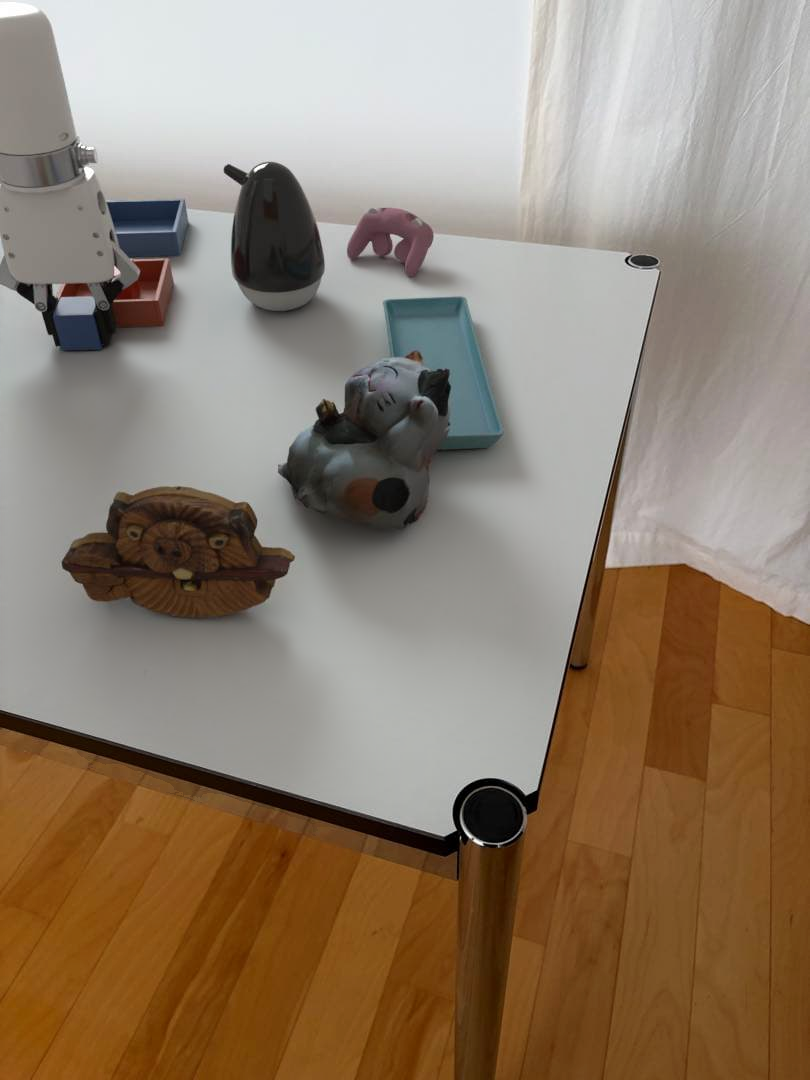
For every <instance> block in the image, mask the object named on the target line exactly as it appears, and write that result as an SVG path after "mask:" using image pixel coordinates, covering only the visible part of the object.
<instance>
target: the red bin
mask: <svg viewBox="0 0 810 1080" xmlns="http://www.w3.org/2000/svg"><path fill="white" fill-rule="evenodd" d="M132 259H133V261H134V264H135V265H136V266H137V267H138V268H139V269H140V274H139V278H138V285H139V290H140V293H139V297H138V299H129V300H114V301H113V302H112V307H113V312H114V316H115V320H116V326H117V328H135V327H136V328H137V327H139V328H140V327H164V324H165V320H166V316H167V313H168V307H169V303H170V299H171V296H172V290H173V286H174V277H173V272H172V265H171V260H170V258H138V259H134V258H132ZM87 296H92V294H91V292H90V289H89V287H88V285H87V283H72V284H60V286H59V289H58V291H57V293H56V295H55V298H58V300H60V297H87Z"/></svg>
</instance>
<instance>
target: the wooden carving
mask: <svg viewBox="0 0 810 1080" xmlns="http://www.w3.org/2000/svg"><path fill="white" fill-rule="evenodd" d="M105 524H106V525H105V529H106V531H105V532H104V531H101V532H99V531H98V532H92V533H88V534H86V535H85V536H83V537H81V538H77V539H74V540H73V541H72V542H71V544H70V546H69V549H68V551H67V553H66V554H65V555H64V557H63V558H62V560H61V567H62V570H63V571H65V572H68V573H69V574H70V576H71V578H72V579H73V581H74V582H75V583H77V584H81V585H82V586H83V589H84V591H85V593H86V595H87V596H88V598H89V599H91V600H92V601H96V602H105V603H109V602H113V601H119V600H122V599H123V600H124V599H126V598H129V599H130V601H131V602H132V603H133V604H134V605H136V606H139V607H141V608H143V609H146V610H148V611H152V612H153V613H158V614H163V615H166V616H172V617H178V618H192V619H193V618H199V619H201V618H209V617H223V616H228V615H233V614H237V613H240V612H243V611H246V610H249V609H250V608H253V607H256V606H259V605H261V604H263V603H265V602H266V601H268V599H269V598H270V597H271V593H272V589H274V587H275V584H276V581H277V580H278V579H281V578H284V577H285V576H287V574H288V573H289V570H290V565H291V563H293V562H294V561H295V558H296V556H295V555H294V554H293V553H292V552H291V551H290V550H287V549H286V548H284V547H269V546H268V547H267V546H262V544H261V543H260V541H259V539H258V538H257V536H256V535H255V533H256V530H257V526H258V518H257V515H256V513H255V511H254V509H253V507H252V506H251V505H250V504H249V502H246V501H240V502H234V501H233V500H230V499H228V498H226V497H223V496H222V495H218V494H217V493H216V494H215V493H212V492H209V491H205V490H204V491H203V490H200V489H198V488H194V487H189V486H181V485H176V486H169V485H167V486H166V485H163V486H157V487H152V488H148V489H145V490H142V491H139V492H136V493H134V494H129V493H128V492H125V491H118V492H117V493H116V494H115V495H114V498H113V501H112V503H111V504H110V506H109V508H108V516H107V521H106V523H105Z"/></svg>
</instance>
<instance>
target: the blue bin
mask: <svg viewBox="0 0 810 1080" xmlns="http://www.w3.org/2000/svg"><path fill="white" fill-rule="evenodd" d="M106 203H107V206H108V209H109V212H110V215H111V218H112V222H113V225H114V228H115V232H116V235H117V239H118V243H119V248H120V249H121V250H122V251H123V252H124V253H125V254H126V255H127V256H128V257H129V258H142V257H144V258H145V257H178V256H179V257H180V256H181V254H182V250H183V245H184V241H185V236H186V232H187V229H188V224H189V217H188V211H187V210H188V209H187V204H186V200H185V198H164V199H162V198H161V199H159V198H157V199H123V200H122V199H121V200H119V199H118V200H106Z"/></svg>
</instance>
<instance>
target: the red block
mask: <svg viewBox="0 0 810 1080" xmlns="http://www.w3.org/2000/svg"><path fill="white" fill-rule="evenodd" d="M130 259H131V260H132V262H133V263H134V261H133V259H134V258H130ZM114 271H115V274H114V276H116V275H118V274H119V273H120V271H119V270H118V269H117V268H116V267H115V266H114ZM110 280H111V279H110ZM110 280H108V281H109V282H110ZM139 293H140V290H139V285H138V280H137V281H135V282H134V283H132V284H131V285H130V286H128V287H127V288H125V289H123V290H122V292H121V293H120V294H119V295H118V296H117V298H116V299H115V300H129V299H138V297H139Z"/></svg>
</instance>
